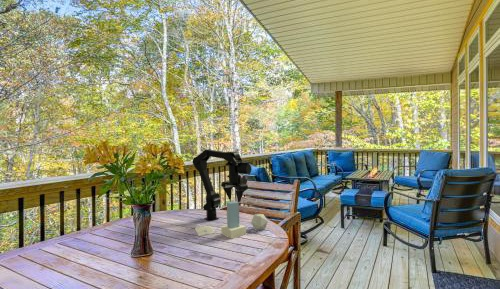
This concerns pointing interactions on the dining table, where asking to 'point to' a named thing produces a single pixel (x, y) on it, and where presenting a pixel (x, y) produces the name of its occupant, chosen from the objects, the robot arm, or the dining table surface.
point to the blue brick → (233, 214)
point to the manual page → (204, 230)
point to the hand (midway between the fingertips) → (234, 200)
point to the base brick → (233, 231)
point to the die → (259, 222)
